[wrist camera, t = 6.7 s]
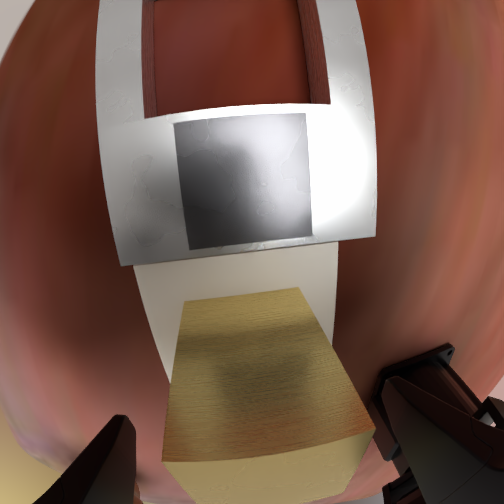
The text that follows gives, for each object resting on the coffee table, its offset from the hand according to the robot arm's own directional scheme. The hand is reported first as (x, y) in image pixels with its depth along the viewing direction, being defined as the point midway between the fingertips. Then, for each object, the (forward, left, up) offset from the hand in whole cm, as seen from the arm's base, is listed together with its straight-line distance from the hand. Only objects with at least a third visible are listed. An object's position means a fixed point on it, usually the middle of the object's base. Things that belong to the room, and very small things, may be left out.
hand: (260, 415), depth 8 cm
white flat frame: (0, -11, -5) cm, 12 cm away
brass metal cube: (0, 0, -4) cm, 4 cm away
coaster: (0, 0, -5) cm, 5 cm away
